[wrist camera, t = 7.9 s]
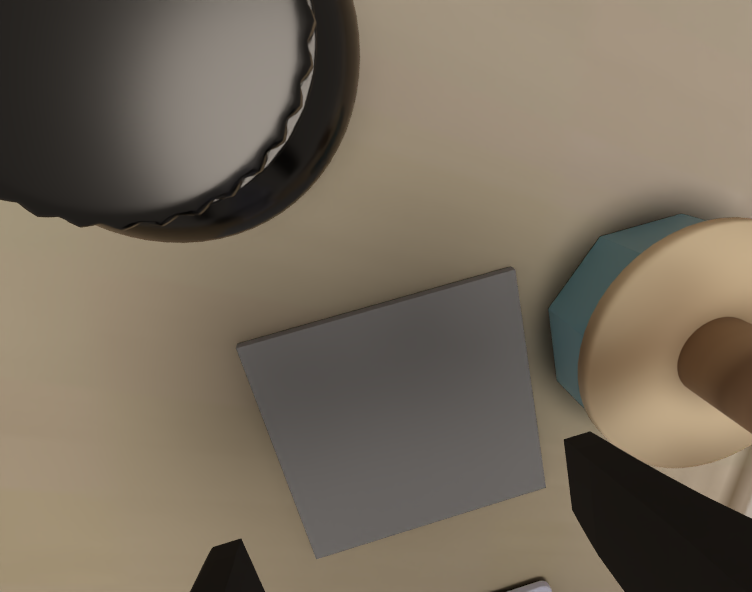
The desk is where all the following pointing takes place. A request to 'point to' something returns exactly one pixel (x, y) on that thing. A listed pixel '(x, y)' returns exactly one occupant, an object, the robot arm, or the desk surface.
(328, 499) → the mat
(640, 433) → the lid
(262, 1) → the supplement bottle
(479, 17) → the desk surface
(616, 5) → the desk surface
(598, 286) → the bowl
